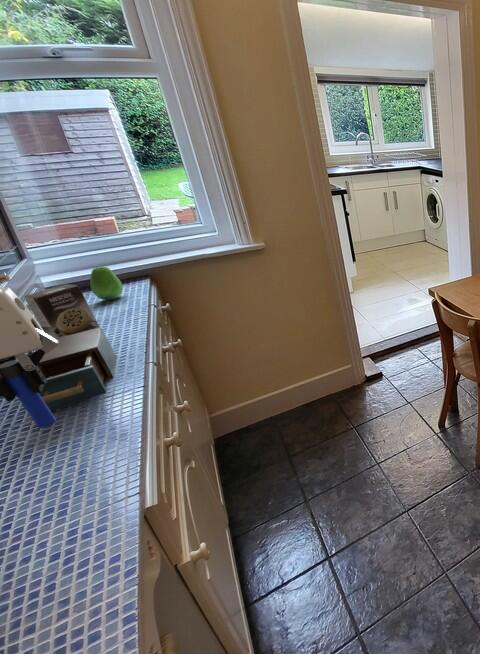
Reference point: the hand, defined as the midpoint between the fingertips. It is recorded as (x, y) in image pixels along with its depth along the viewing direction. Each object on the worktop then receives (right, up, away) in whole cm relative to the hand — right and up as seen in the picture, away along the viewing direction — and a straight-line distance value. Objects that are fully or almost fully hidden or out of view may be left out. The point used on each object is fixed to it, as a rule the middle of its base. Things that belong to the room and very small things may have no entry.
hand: (26, 392), depth 67 cm
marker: (0, -6, +3) cm, 7 cm away
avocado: (-62, +16, +79) cm, 101 cm away
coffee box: (-42, +3, +49) cm, 64 cm away
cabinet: (-25, -3, +33) cm, 41 cm away
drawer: (-17, -6, +24) cm, 30 cm away
